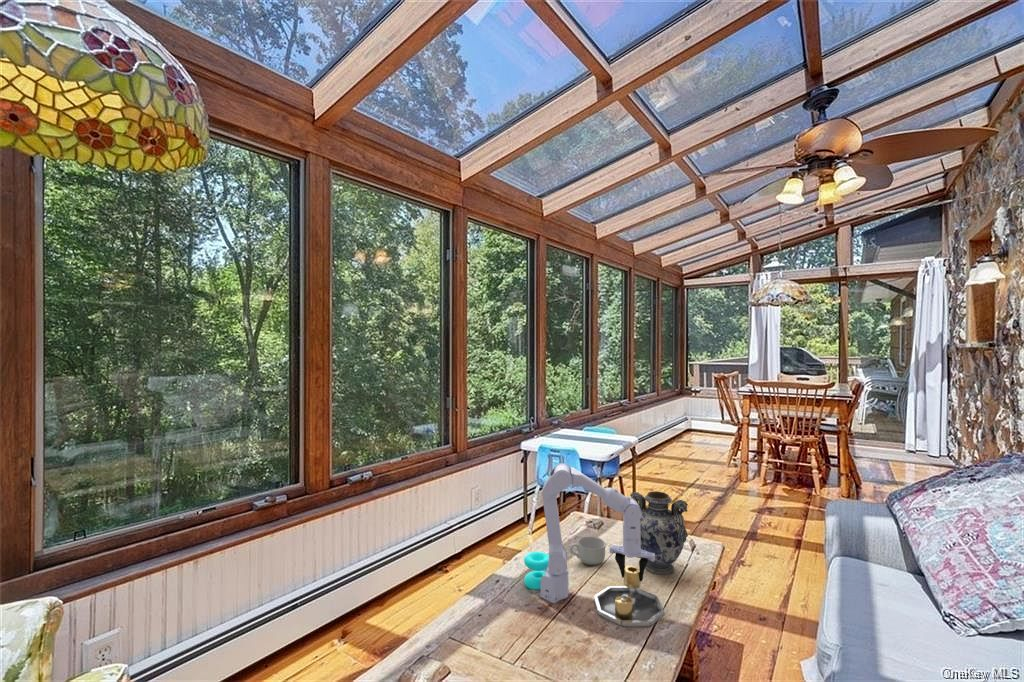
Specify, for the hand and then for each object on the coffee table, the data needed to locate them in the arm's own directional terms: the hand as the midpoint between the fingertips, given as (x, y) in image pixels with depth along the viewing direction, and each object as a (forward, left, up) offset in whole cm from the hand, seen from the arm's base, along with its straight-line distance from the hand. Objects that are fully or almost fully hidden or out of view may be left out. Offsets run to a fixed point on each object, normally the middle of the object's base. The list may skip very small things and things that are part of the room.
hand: (632, 578), depth 157 cm
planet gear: (0, 0, -2) cm, 2 cm away
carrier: (-6, -2, -7) cm, 10 cm away
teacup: (+11, +27, -8) cm, 30 cm away
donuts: (-15, +29, -8) cm, 33 cm away
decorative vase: (+26, +5, -8) cm, 28 cm away
